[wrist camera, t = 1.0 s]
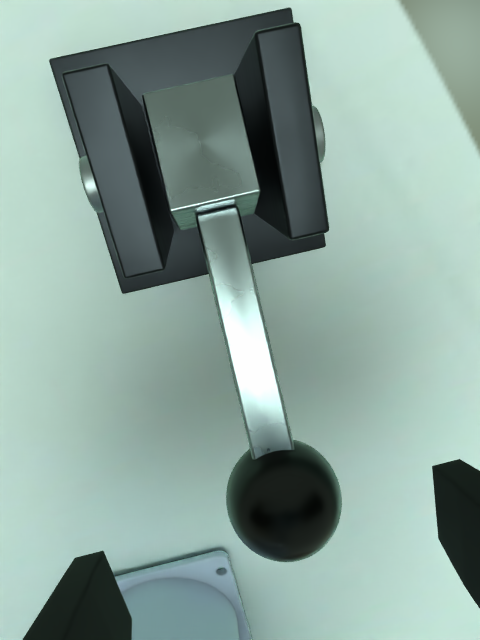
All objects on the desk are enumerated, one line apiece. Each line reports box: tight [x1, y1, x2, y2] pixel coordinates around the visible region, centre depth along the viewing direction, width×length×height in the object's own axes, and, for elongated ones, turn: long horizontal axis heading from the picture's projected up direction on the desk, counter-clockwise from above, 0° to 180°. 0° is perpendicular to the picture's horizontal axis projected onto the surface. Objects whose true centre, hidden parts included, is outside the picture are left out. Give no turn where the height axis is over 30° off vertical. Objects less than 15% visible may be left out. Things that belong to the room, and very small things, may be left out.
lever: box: [142, 74, 342, 562], centre depth 12 cm, size 12×3×3 cm, turn 12°
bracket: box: [49, 8, 329, 294], centre depth 13 cm, size 8×8×7 cm
